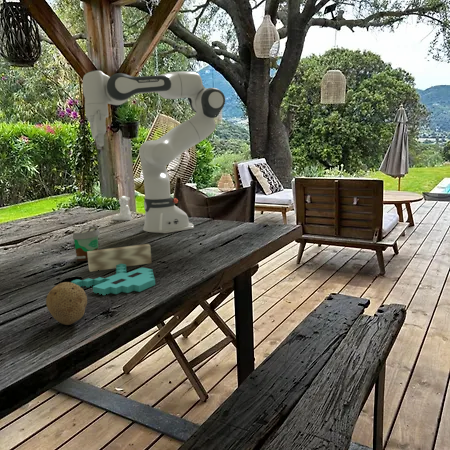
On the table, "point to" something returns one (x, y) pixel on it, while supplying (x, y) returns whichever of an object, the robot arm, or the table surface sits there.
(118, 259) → the birch board
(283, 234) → the table surface
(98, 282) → the alien figure
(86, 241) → the food container
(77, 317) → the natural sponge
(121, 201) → the sitting furry creature
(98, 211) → the table surface
